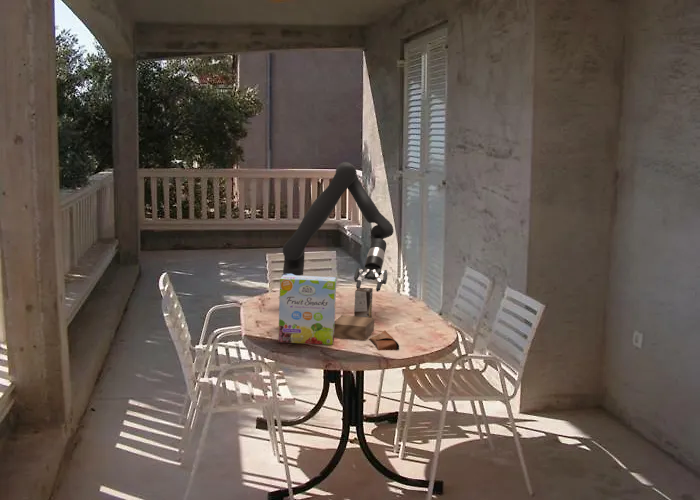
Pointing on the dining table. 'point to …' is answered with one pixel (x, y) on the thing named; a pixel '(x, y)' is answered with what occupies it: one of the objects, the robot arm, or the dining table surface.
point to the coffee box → (363, 302)
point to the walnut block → (353, 327)
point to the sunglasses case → (384, 342)
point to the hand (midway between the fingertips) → (367, 289)
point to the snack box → (307, 309)
